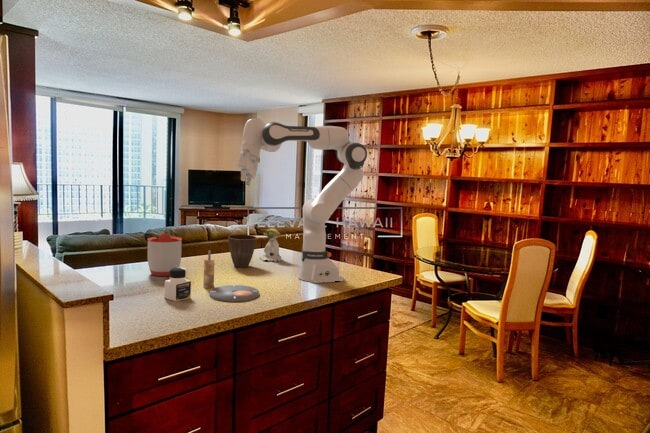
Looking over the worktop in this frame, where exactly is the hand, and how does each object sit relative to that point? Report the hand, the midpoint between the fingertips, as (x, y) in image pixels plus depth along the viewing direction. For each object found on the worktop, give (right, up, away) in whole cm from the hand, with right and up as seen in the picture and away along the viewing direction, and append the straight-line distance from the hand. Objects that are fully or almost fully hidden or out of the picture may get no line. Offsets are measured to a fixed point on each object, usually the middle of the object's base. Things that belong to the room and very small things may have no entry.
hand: (245, 183), depth 187 cm
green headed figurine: (+4, -40, +59) cm, 71 cm away
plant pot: (-9, -42, +38) cm, 57 cm away
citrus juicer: (-42, -42, +15) cm, 61 cm away
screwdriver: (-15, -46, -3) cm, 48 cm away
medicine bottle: (-23, -47, -21) cm, 57 cm away
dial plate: (-2, -47, -13) cm, 49 cm away
